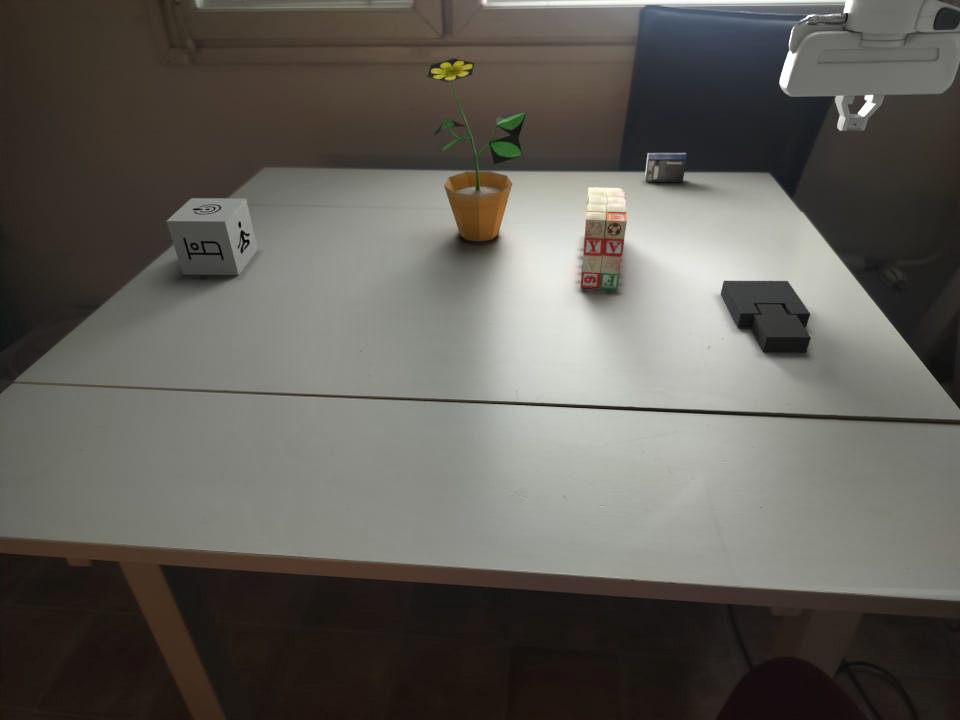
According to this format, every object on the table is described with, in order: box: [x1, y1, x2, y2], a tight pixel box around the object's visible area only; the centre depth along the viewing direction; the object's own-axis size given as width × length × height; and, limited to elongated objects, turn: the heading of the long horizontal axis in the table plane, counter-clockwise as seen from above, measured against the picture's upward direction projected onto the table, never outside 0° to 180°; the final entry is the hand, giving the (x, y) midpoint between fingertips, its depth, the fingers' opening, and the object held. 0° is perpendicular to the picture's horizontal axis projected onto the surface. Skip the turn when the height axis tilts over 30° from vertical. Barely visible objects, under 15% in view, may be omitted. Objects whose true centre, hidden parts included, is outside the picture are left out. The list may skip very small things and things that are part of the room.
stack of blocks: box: [580, 187, 628, 291], centre depth 114 cm, size 21×6×12 cm, turn 171°
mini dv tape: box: [644, 152, 688, 183], centre depth 147 cm, size 8×2×6 cm, turn 86°
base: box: [720, 280, 811, 329], centre depth 102 cm, size 10×10×2 cm
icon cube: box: [166, 197, 259, 276], centre depth 117 cm, size 10×10×10 cm
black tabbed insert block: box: [750, 304, 812, 353], centre depth 97 cm, size 6×9×2 cm, turn 177°
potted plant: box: [426, 58, 528, 242], centre depth 119 cm, size 18×19×30 cm
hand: (850, 129), depth 88 cm, fingers closed
